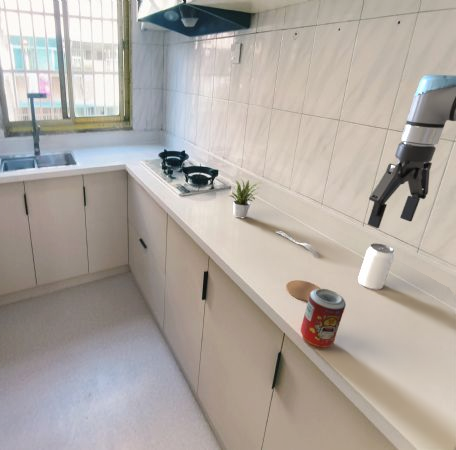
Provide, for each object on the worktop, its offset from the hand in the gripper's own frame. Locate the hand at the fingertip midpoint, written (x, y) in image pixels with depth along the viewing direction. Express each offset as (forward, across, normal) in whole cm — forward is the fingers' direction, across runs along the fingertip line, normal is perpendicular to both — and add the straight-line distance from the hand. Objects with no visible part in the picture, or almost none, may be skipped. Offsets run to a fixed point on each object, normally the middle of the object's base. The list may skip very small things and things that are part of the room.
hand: (389, 222), depth 91 cm
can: (+20, 0, 0) cm, 20 cm away
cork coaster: (+20, +21, -4) cm, 29 cm away
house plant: (+20, +3, -56) cm, 59 cm away
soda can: (+20, +34, +12) cm, 41 cm away
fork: (+20, +1, -28) cm, 34 cm away
